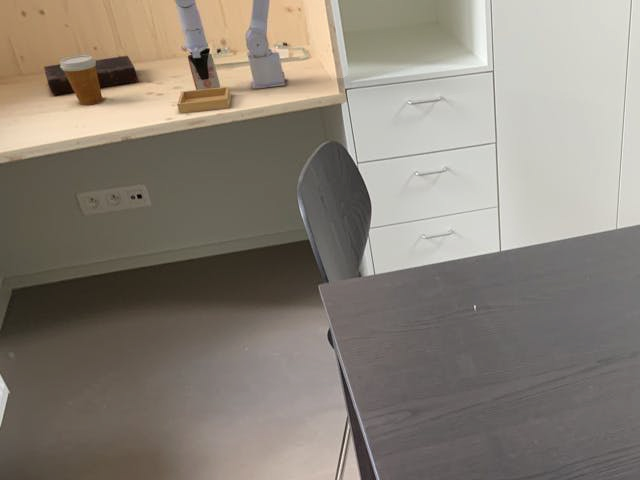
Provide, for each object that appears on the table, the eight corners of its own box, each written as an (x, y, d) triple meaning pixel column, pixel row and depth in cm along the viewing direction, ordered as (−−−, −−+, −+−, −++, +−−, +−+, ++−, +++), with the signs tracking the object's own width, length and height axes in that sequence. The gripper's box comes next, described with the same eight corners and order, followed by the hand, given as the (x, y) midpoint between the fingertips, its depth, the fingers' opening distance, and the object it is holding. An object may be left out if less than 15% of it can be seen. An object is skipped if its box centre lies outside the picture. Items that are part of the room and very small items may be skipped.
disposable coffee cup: (74, 99, 236) (59, 57, 228) (108, 94, 238) (94, 53, 231) (73, 108, 228) (57, 65, 221) (108, 103, 231) (94, 60, 224)
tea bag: (197, 89, 238) (187, 54, 232) (220, 86, 239) (211, 52, 233) (197, 92, 235) (187, 57, 229) (220, 89, 236) (211, 55, 230)
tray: (231, 95, 233) (229, 86, 232) (229, 107, 224) (227, 98, 222) (183, 100, 231) (181, 91, 230) (179, 113, 221) (177, 104, 220)
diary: (139, 82, 248) (134, 65, 245) (53, 96, 239) (46, 79, 236) (131, 69, 261) (126, 53, 258) (49, 82, 252) (43, 65, 249)
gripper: (180, 24, 232) (193, 72, 240) (175, 35, 221) (189, 85, 229) (205, 22, 233) (217, 69, 241) (201, 33, 222) (214, 82, 230)
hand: (205, 77), depth 235 cm, fingers closed on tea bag, 4 cm apart
